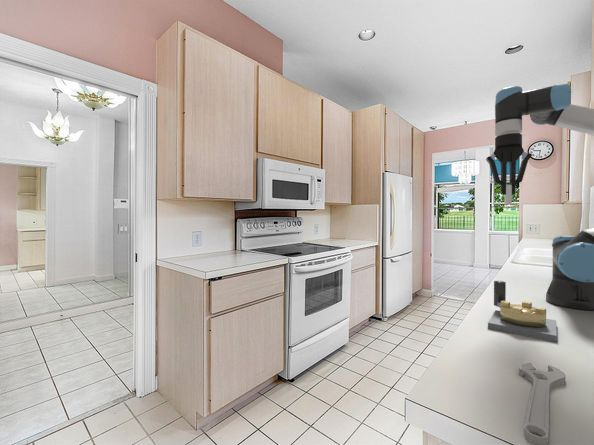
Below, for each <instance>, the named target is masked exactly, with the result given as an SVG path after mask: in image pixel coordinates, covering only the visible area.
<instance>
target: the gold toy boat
mask: <svg viewBox="0 0 594 445" xmlns="http://www.w3.org/2000/svg"><path fill="white" fill-rule="evenodd" d="M506 285H507V284H506V281H503V280H493V305H494V306H495V307H498V308H499V311H500V318H501V319H502V320H504V321H506V322H509V323H512V324H516V325H521V326H528V327H543V326H546V319H547V308H544V307H540V306H537V307H534V306H533V302H531V301H525V300H523V301H522V302H521V304H516V303H515V304H514V303H511V302H510V301H506V300H507V299H506V298H507V294H506V292H507V290H506V288H507V286H506Z"/></svg>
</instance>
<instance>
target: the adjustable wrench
mask: <svg viewBox="0 0 594 445" xmlns="http://www.w3.org/2000/svg"><path fill="white" fill-rule="evenodd" d="M518 375H519V376H520V377H523V378H525V379H526V380H528V381H529V383H531V385H532V386H531V391H530V396H529V401H528V405H527V409H526V415H525V419H524V424H523V436H524V437H525V439H527V440H528V441H530V442H531V443H533V444H536V445H548V444H549V432H550V431H549V430H550V429H549V428H550V427H549V424H550V422H549V421H550V420H549V419H550V391H551V390H552V389H554V388H556V387H558V386H561V385H565V383H566V374H565V372H564V371H562V370H561V369H560V368H558V367H555V366H553V365H550V364H548V365H547V371H543V370H536V367H535V366H534V364H532V363H531V362H525V363H523V364H522V365H521V368H518Z"/></svg>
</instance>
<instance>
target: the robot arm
mask: <svg viewBox="0 0 594 445" xmlns="http://www.w3.org/2000/svg"><path fill="white" fill-rule="evenodd" d="M571 102H572V85H571V84H569V83H561V84H553V85H551V86H546V87H542V88H537V89H532V90H527V91H524V90H523V87H521V86H519V85H516V86H507V87H504V88H502V89H500V90H498V92H497V93H496V95H495V104H494V116H495V118H494V119H495V120H494V124H495V125H494V126H495V127H494V128H495V130H494V134H495V135H494V136H496V137H495V138H494V151H493V152H492V153H493V154H491V155H490V156H487V157H486V159H485V161H486V162H487V163H488V165H489V167H490V171H491V174H492V179H493V182H494V184H496V185H499V186H500V194H501V195H503V196H504V199H503V200H504V205H512V202H513V200H512V199H513V198H512V197H513V196H512V195H515V194H516V185H517V184H520V183H522V182H523V180H524V176H525V172H526V169H527V166H528V163H529V160H530V159H531V157H533V154H532V153H530V152H529V153H528V152H526V151H525V150H524V148H523V134H522V132H523V116H529V117H530V120H531V121H532V122H533V124H535V125H537V126H539V125H540V126H543V125H549V126H554V127H558V128H563V129H566V130H570V131H575V132H578V133H582V134H586V135H591V136H594V108H591V107H586V106H581V105H576V104H572V103H571ZM520 157H521V159H522V160H521V163H520V165H519V166H520V167H519V170H518V173H517V161H518V160H519V158H520ZM496 160H497V161H498V162H500V176H499V172H498V169H497V164H496V162H495V161H496ZM507 165H509V184H508V183H507V182H508V181H507V178H508V177H507V172H508V170H507V169H508V168H507V167H508V166H507ZM551 246H552V272H551V273H552V279H551V282H550V284H549V286H548V288H547V291H546V293H545V300H546V302H548V303H551V304H553V305H556V306H560V307H565V308H570V309H577V310H586V311H594V227H593V228H587V229H582V230H581V231H579V233H577V234H576V235H563V236H562V235H559V236H555V237H553V239H552V242H551Z"/></svg>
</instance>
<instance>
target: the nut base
mask: <svg viewBox="0 0 594 445" xmlns="http://www.w3.org/2000/svg"><path fill="white" fill-rule="evenodd" d="M487 329H491V330H495V331H501V332H504V333H505V332H506V333H509V334H516V335H520V336H526V337H529V338H530V337H531V338H535V339H539V340H540V339H541V340H544V341H545V340H546V341H550V342H555V343H557V341H558V337H557V335H558V333H557V320H556V319H551V318H550V319H549V318H546V326H543V327H528V326H521V325H516V324H512V323H509V322H506V321H504V320H502V319H501V318H500V310H497V309H496V310H494V312H493V313H492V315H491V317H490V318H489V320H488V322H487Z"/></svg>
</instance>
